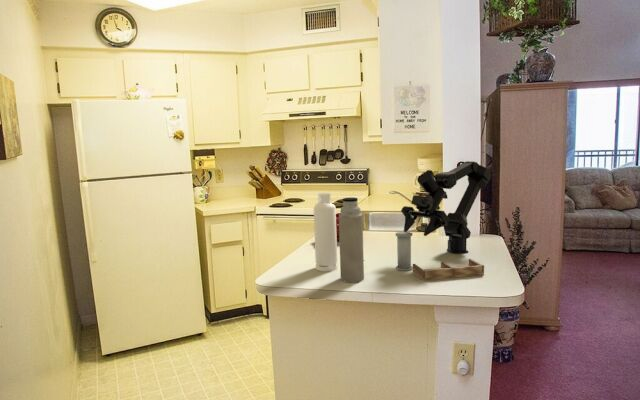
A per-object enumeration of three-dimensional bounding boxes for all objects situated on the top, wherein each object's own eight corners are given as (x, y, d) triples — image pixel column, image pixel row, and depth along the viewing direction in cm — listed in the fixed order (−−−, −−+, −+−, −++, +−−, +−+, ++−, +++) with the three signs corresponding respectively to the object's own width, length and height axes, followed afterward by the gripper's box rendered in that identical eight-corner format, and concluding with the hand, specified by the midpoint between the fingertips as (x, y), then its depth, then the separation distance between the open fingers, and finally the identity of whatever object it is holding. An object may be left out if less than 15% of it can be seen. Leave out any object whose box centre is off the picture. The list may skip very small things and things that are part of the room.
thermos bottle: (344, 274, 157) (341, 196, 153) (366, 276, 154) (364, 196, 150) (337, 281, 149) (335, 199, 145) (360, 283, 147) (358, 199, 143)
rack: (470, 267, 160) (470, 258, 159) (483, 274, 151) (484, 265, 150) (412, 272, 156) (412, 263, 155) (422, 280, 147) (422, 270, 147)
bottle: (312, 266, 167) (309, 193, 163) (332, 263, 171) (329, 191, 167) (321, 272, 160) (318, 195, 156) (341, 269, 163) (338, 193, 159)
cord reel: (409, 265, 164) (408, 231, 163) (415, 270, 159) (415, 234, 157) (393, 267, 163) (393, 232, 162) (399, 271, 158) (398, 236, 156)
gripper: (403, 185, 171) (384, 217, 166) (444, 188, 157) (425, 223, 151) (416, 203, 177) (398, 234, 172) (457, 207, 163) (439, 242, 157)
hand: (414, 233), depth 163 cm, fingers open, 9 cm apart
